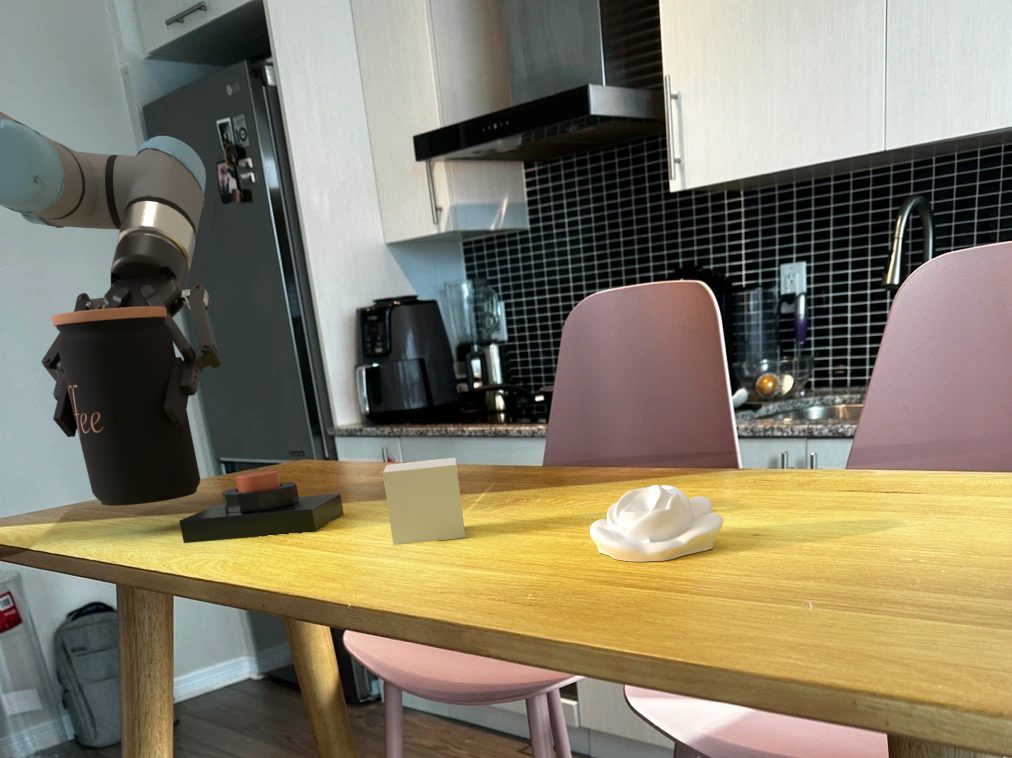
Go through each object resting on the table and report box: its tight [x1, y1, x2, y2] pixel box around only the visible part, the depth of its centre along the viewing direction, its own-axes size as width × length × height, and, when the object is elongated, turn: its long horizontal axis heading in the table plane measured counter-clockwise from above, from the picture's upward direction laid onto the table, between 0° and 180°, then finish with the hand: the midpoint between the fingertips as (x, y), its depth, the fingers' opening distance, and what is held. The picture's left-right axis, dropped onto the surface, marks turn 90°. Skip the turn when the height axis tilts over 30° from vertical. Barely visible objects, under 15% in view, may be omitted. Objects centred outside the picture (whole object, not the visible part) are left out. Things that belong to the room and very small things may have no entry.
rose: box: [589, 484, 724, 563], centre depth 73 cm, size 10×4×10 cm
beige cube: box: [382, 457, 466, 546], centre depth 87 cm, size 6×6×6 cm
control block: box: [178, 481, 344, 544], centre depth 101 cm, size 13×10×4 cm
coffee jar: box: [50, 306, 201, 507], centre depth 103 cm, size 11×11×18 cm
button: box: [235, 470, 280, 492], centre depth 100 cm, size 4×4×2 cm
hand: (118, 423), depth 101 cm, fingers closed on coffee jar, 11 cm apart
